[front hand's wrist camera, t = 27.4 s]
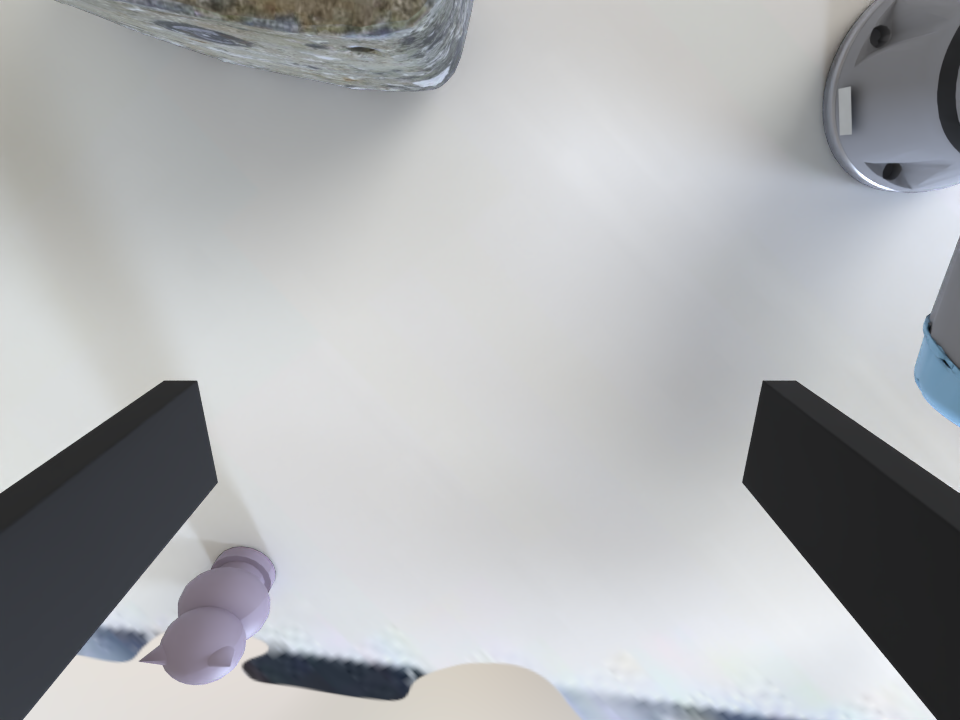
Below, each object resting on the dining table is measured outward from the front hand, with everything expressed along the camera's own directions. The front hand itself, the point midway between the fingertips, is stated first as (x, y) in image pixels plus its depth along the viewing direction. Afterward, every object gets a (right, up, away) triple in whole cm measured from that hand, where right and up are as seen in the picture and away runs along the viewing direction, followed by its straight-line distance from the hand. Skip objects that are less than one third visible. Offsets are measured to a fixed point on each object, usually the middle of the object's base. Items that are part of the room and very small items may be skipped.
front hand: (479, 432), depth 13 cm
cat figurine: (-25, -21, +44) cm, 54 cm away
